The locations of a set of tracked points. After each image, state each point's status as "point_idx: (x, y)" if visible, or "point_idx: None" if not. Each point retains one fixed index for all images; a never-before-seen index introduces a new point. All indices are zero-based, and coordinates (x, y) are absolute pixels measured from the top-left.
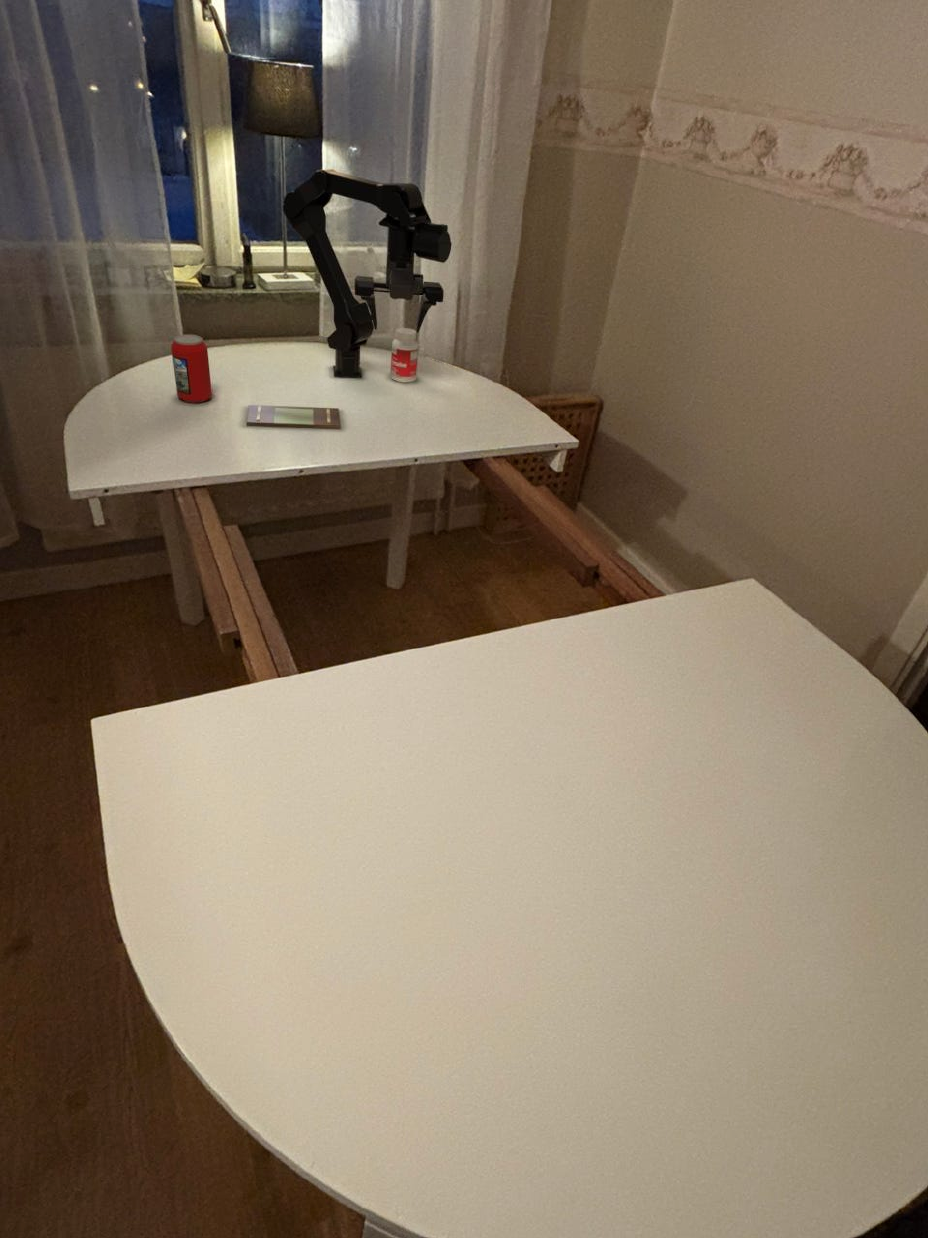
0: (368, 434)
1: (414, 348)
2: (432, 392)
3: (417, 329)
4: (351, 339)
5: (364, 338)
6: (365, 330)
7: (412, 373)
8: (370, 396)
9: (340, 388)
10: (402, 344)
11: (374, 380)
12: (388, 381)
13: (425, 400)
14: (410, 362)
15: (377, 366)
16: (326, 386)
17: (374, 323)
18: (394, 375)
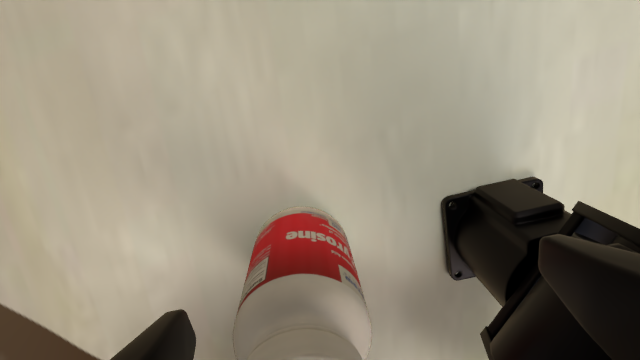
0: None
1: (247, 302)
2: (172, 146)
3: (167, 322)
4: (613, 230)
5: (525, 298)
6: (560, 320)
7: (262, 234)
8: (402, 12)
9: (517, 65)
10: (312, 297)
11: (397, 193)
12: (348, 201)
13: (178, 42)
14: (268, 249)
15: (395, 318)
16: (567, 69)
17: (614, 248)
18: (331, 220)
